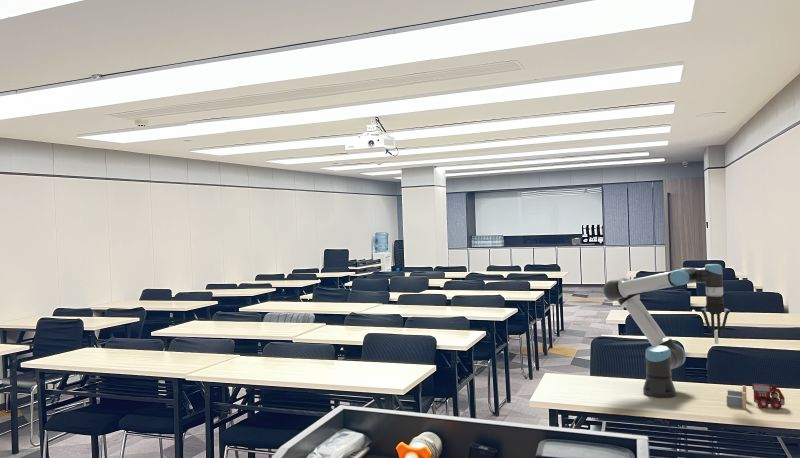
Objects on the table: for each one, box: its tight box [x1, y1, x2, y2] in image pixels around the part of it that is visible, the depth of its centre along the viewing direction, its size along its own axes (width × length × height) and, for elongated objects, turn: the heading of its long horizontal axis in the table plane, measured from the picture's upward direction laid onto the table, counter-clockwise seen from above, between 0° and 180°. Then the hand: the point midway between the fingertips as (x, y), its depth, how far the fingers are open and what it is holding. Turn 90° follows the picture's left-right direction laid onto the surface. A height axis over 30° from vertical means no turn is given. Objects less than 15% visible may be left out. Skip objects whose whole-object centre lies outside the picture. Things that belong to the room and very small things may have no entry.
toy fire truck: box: [751, 383, 786, 410], centre depth 261 cm, size 7×12×10 cm, turn 67°
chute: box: [726, 385, 748, 410], centre depth 267 cm, size 8×15×7 cm, turn 148°
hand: (716, 343), depth 279 cm, fingers closed
